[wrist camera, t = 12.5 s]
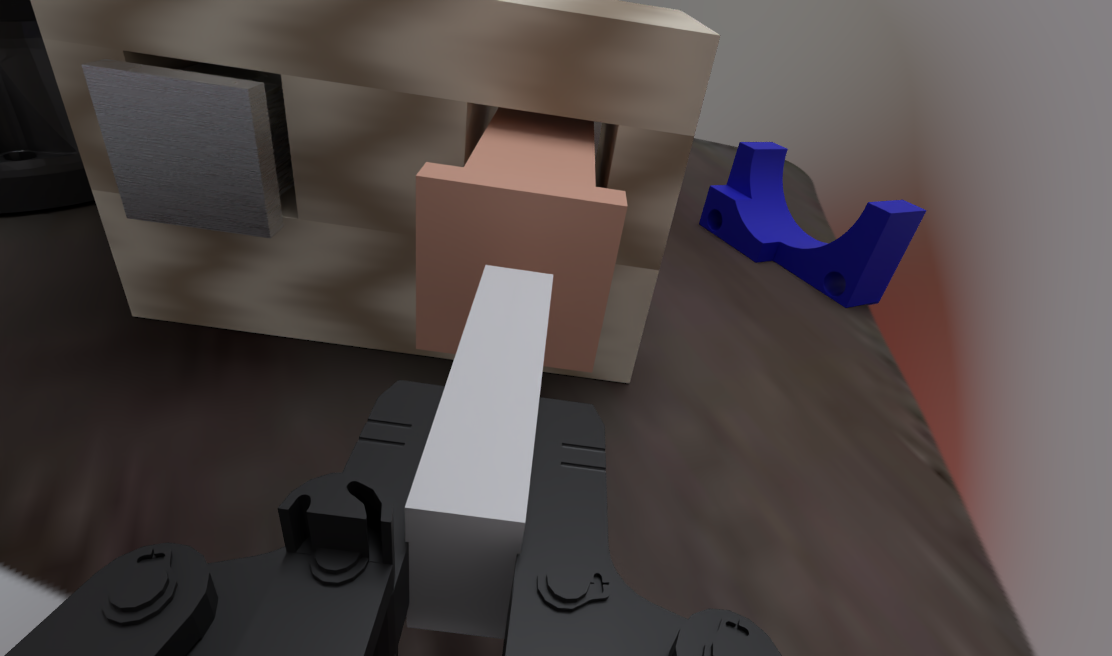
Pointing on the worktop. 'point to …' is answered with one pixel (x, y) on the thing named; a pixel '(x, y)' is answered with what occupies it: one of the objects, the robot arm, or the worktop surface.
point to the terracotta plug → (519, 231)
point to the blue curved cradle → (772, 234)
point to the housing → (389, 145)
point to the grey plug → (195, 143)
